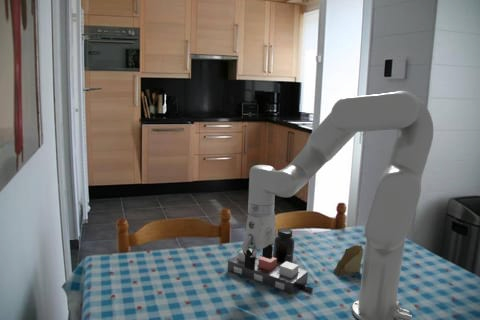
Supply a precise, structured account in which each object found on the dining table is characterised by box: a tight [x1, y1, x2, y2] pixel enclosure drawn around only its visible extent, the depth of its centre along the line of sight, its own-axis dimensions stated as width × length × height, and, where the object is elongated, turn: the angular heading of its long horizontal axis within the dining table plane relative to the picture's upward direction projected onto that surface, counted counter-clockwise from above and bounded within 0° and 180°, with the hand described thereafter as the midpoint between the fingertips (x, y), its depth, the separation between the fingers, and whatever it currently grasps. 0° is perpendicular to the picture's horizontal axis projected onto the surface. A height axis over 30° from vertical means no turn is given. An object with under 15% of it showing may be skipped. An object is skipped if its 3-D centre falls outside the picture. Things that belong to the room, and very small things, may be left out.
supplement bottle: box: [272, 227, 295, 264], centre depth 144 cm, size 7×7×12 cm
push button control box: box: [227, 253, 314, 295], centre depth 133 cm, size 27×10×4 cm, turn 56°
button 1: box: [279, 261, 300, 278], centre depth 130 cm, size 4×4×6 cm
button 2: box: [258, 255, 277, 271], centre depth 134 cm, size 4×4×6 cm
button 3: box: [238, 248, 258, 262], centre depth 138 cm, size 4×4×6 cm
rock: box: [332, 244, 364, 276], centre depth 141 cm, size 11×9×10 cm
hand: (258, 263), depth 128 cm, fingers open, 9 cm apart
